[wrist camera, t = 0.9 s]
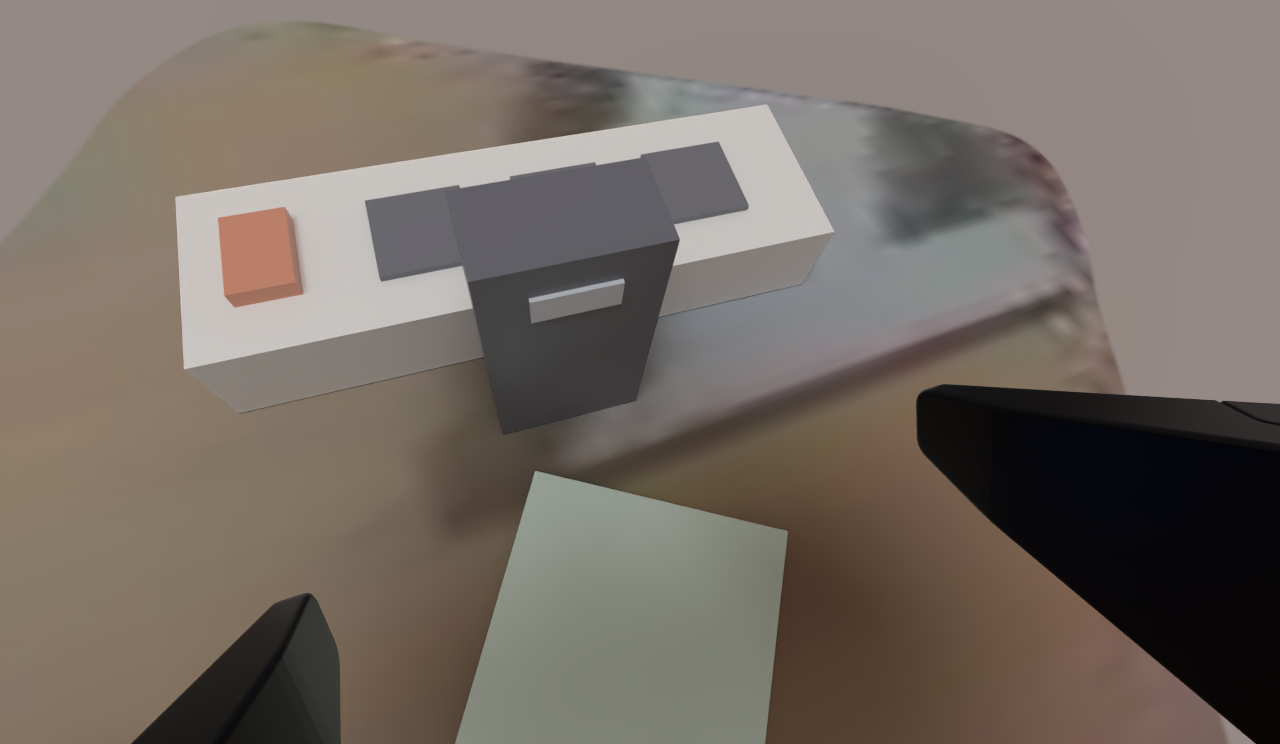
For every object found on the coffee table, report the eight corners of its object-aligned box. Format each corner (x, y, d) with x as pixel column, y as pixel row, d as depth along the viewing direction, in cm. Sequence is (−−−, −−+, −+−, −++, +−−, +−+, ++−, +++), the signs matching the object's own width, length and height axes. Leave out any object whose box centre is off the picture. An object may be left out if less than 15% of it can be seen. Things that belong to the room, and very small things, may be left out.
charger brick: (636, 403, 24) (681, 243, 15) (503, 438, 23) (468, 286, 14) (615, 341, 25) (645, 156, 16) (487, 371, 24) (444, 190, 15)
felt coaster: (784, 533, 23) (788, 531, 22) (750, 837, 19) (754, 840, 18) (535, 474, 23) (535, 471, 22) (449, 767, 19) (447, 769, 18)
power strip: (744, 166, 30) (772, 90, 26) (803, 286, 27) (843, 222, 23) (225, 259, 25) (163, 182, 21) (238, 416, 22) (171, 362, 18)
